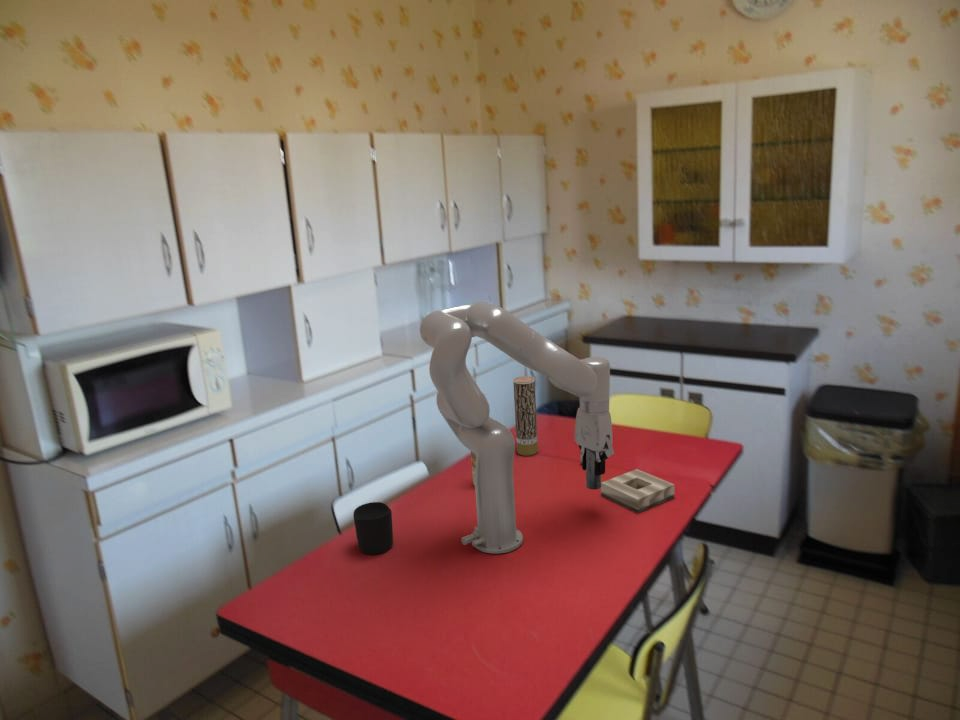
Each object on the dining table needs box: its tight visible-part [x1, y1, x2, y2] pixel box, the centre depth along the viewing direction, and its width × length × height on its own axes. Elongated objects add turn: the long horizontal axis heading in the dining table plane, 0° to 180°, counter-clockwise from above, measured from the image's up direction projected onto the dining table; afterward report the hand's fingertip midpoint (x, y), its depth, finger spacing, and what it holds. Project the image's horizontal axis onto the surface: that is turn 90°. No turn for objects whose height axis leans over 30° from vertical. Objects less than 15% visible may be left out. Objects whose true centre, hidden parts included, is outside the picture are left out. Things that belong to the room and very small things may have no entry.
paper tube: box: [513, 375, 539, 457], centre depth 232 cm, size 7×7×25 cm
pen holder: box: [352, 501, 394, 556], centre depth 181 cm, size 9×9×10 cm
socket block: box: [600, 468, 675, 514], centre depth 199 cm, size 14×14×4 cm
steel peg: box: [585, 448, 602, 491], centre depth 189 cm, size 4×4×12 cm
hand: (593, 471), depth 190 cm, fingers closed on steel peg, 4 cm apart
